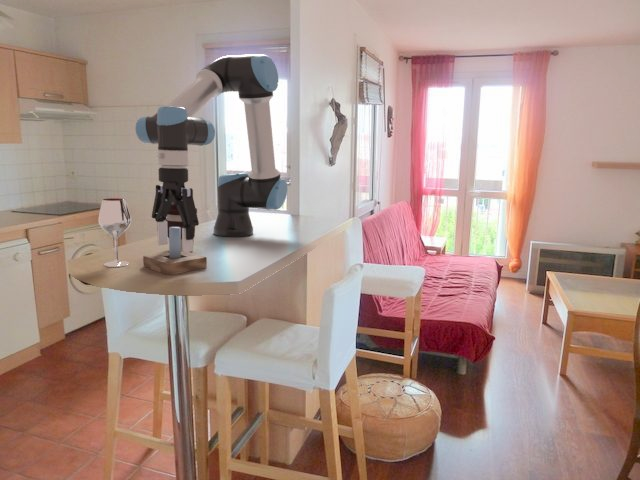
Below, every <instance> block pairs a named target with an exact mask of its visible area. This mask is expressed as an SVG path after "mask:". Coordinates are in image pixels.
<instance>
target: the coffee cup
mask: <svg viewBox="0 0 640 480" xmlns="http://www.w3.org/2000/svg"><path fill="white" fill-rule="evenodd" d="M195 209H196V213H197V214H198V208H197V207H195ZM166 218H167V219H166V220H167V227H168V239H169V227H181V250H182V226H183V225H184V224H183V222H182V219H181V217H180V214H179V211H178V209H177V206H176V205H174V203H172V204H171V207H170V209H169V212H168V214H167V217H166ZM193 221H194V220H193ZM187 223H188V222H187ZM195 233H196V226H194V227H193V244H194V241H195V240H194V239H195V235H196V234H195Z"/></svg>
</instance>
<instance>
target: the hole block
mask: <svg viewBox="0 0 640 480" xmlns="http://www.w3.org/2000/svg"><path fill="white" fill-rule="evenodd" d="M142 256H143V257H142V259H143V267H144V268H146V269H149V270H153V271H155V272H158V273H160V274H164V275H166V276H172V275H176V274H181V273H186V272H192V271H197V270H203V269H207V267H208V266H207V264H208V263H207V261H208V260H207V256H204V255H200V254H197V253H193V252H191V251H190V252H183V251H182V250H181V258H178V259H169V251H167V252H161V253H154V254H147V255H142ZM202 268H203V269H202Z"/></svg>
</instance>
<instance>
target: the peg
mask: <svg viewBox="0 0 640 480" xmlns="http://www.w3.org/2000/svg"><path fill="white" fill-rule="evenodd" d="M168 245H169V247H168V248H169V249H168V252H169V259H178V258H181V227H169V238H168Z"/></svg>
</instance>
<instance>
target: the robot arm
mask: <svg viewBox="0 0 640 480" xmlns="http://www.w3.org/2000/svg"><path fill="white" fill-rule="evenodd" d="M278 84H279V73H278V69H277V66H276V64H275V62H274V61H273V59H272V58H271V57H270V56H268V55H267V54H259V53H258V54H256V53H255V54H241V55H240V54H238V55H226V56H222V57H219V58H217V59H216V60H213V61H212V62H210V63H209V64H207V65H206V66H204V67H203V68H201V69H200V71H198V72H197V73H196V77H195V79H194V80H193V81H192V82H191V83H189V84H188V85H187V86H186V87H185V88H184V89H183V90H182V91H181V92H178V94H177V95H176V96H174V98H172V99H171V100H170V101H168V102H167V103H166V104H165V105H163V106H162V105H161V106H160V107H158V108H157V112H156V113H155V114H153V115H151V116H149V115H148V116H142V117H140V118H138V120H137V121H136V122H135V127H134V128H135V129H134V130H135V133H136V137H137V138H138V139H139V141H140V142H142V143H145V144H152V145H156V144H157V145H158V146H157V150H158V152H157V153H158V154H157V158H158V165H159V168H158V181H159V182H161V183H162V184H156V185H155V196H154V202H153V205H152V206H153V207H152V212H151V218H152V219H154V220H155V222H156V231H157V246H163V245H164V246H165V245H169V238H168V227H167V214H168V212H169V209H170V207H171V204H172V203H174V205H176V206H177V209H178V211H179V214H180V217H181V219H182V222H183V224H184V225H183V226H182V251H183V252H190V253H191V252H193V251H194V243H193V227H194V226H195V227H196V226H199V224H200V222H199V218H198V212H197V213H196V209H195V208H196V205H195V201H194V190H193V188H192V187H191V188H190V187H189V188H188V187H187V188H186V185H185V183H188V181H189V169H188V168H187V167H188V166H189V152H188V150H189V149H188V147H189V145H190V146H198V147H199V146H207V145H209V144H211V143H212V142H213V141H214V139H215V137H216V130H215V129H216V128H215V126H214V124H213V123H212V122H211V120H209V119H205V118H203V117H194V116H195V114H197V113H198V112H199V111H200V110H201V109H202V108H203V107H204V106H205V105H206V104H207V103H208V102H209V101H210V100H211V99H212V98H217V97H219V96H220V95H221V94H223V93H227V92H237V93H238V99H240V100H241V101H242V102H243V104H244V111H245V112H244V113H245V122H246V130H247V132H246V133H247V139H248V149H249V156H250V166H251V170H250V172H241V173H230V174H221V175H219V177H218V179H217V209H218V210H217V216H216V219H215V223H214V226H213V235H216V236H221V237H229V238H230V237H231V238H232V237H235V238H237V237H249V236H251V235H253V234H254V226H253V224H252V220H251V218H250V212H249V210H250V209H258V210H266V211H270V210H271V211H272V210H273V211H274V210H275V211H276V210H279V209H281V208H282V207H283V206H284V204H285V201H286V199H287V195H288V182H287V181H286V179H284V178H281V172H280V171H279V170H278V169H277V168H276V160H275V150H274V141H273V140H274V138H273V128H272V117H271V108H270V106H271V105H270V101H271V99H272V98H273V97H274V91H276V90H277V88H278V86H279V85H278ZM193 220H194V221H193ZM187 222H188V223H187Z"/></svg>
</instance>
